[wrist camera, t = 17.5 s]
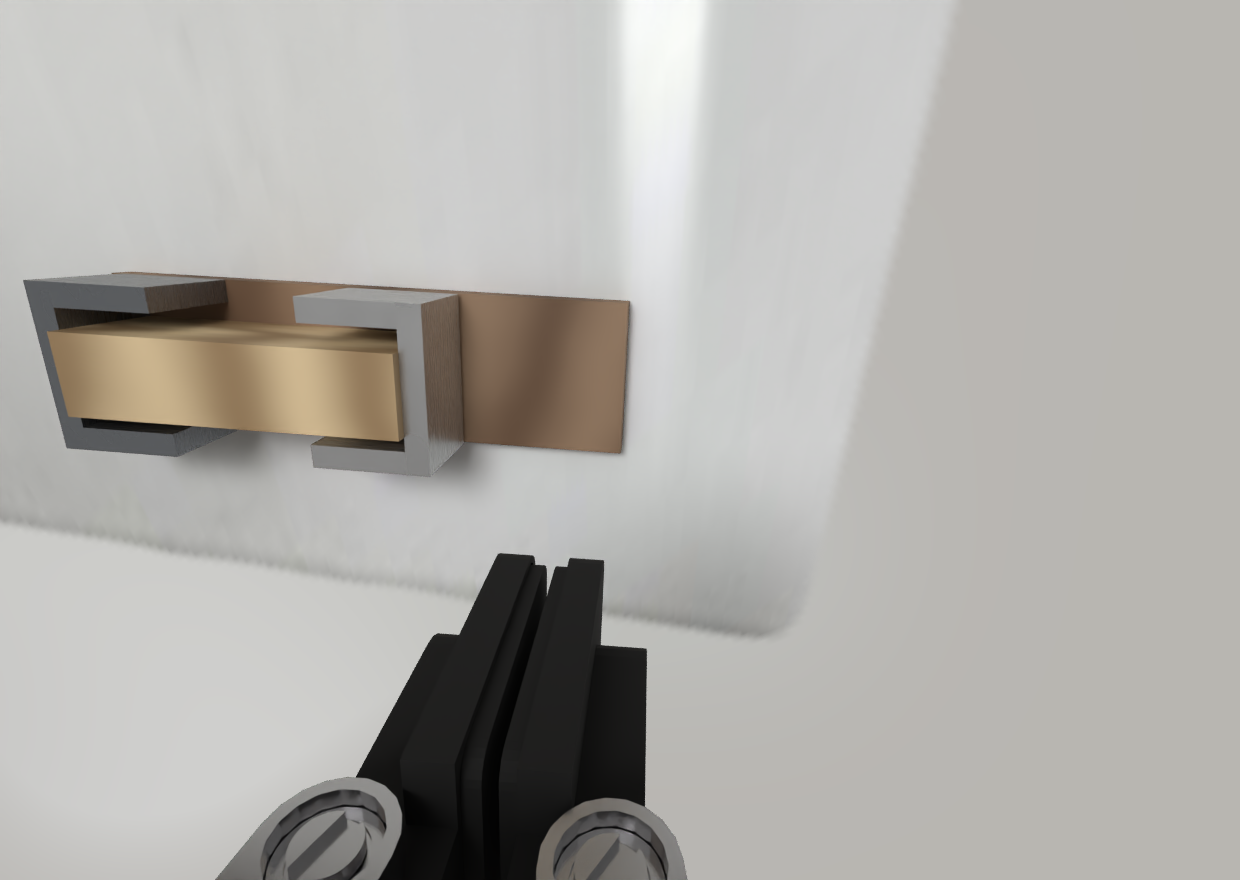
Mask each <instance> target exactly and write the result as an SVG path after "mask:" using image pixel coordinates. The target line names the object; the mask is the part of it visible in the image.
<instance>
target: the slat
mask: <svg viewBox="0 0 1240 880" xmlns="http://www.w3.org/2000/svg"><path fill="white" fill-rule="evenodd" d="M47 334H48V338H49V342H50V346H51V350H52V354H53V358H54V362H55V366H56V370H57V374H58V378H59V381H60V385H61V389H62V393H63V397H64V401H65V405H66V409H67V413H68V417H78V418H92V419H105V420H118V421H132V422H145V423H158V424H172V425H185V426H198V427H212V428H225V429H238V430H251V431H265V432H278V433H291V434H305V435H318V436H331V437H345V438H358V439H371V440H384V441H398V442H399V441H400V440H402V439H403V438H404V429H403V414H402V400H401V386H400V371H399V357H398V343H397V331H382V330H366V329H350V328H334V327H319V326H303V325H287V324H271V323H255V322H240V321H224V320H208V319H192V318H176V317H161V316H146V317H140V318H133V319H126V320H120V321H113V322H107V323H100V324H93V325H87V326H80V327H73V328H67V329H60V330H53V331H47Z"/></svg>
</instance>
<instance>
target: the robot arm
mask: <svg viewBox="0 0 1240 880" xmlns="http://www.w3.org/2000/svg"><path fill="white" fill-rule="evenodd" d="M603 580H604V560H590V559H576V558H570V559H569V563H568V567H559V566H556V567H555V570H554V573H553V577H552V580H551V584H550V587H549V591H548V594H547V569H546V566H544V565H535V558H534V556H532V555H517V554H503V553H500V554H498V555H497V557H496V559H495V561H494V563H493V565H492V567H491V569H490V571H489V574H488V576H487V578H486V580H485V582H484V584H483V586H482V588H481V590H480V592H479V595H478V597H477V599H476V601H475V603H474V605H473V607H472V609H471V611H470V613H469V616H468V618H467V620H466V622H465V624H464V626H463V628H462V630H461V633H460V634H459V635H452V634H439V633H438V634H436V635H434V636H433V637H432V639H431V640H430V642H429V643H428V645H427V647H426V648H425V650H424V652H423V654H422V656H421V658H420V660H419V661H418V663H417V665H416V667H415V669H414V671H413V672H412V674H411V676H410V678H409V680H408V682H407V683H406V685H405V687H404V689H403V691H402V693H401V695H400V696H399V698H398V700H397V702H396V704H395V706H394V707H393V709H392V711H391V713H390V715H389V717H388V719H387V720H386V722H385V724H384V726H383V728H382V730H381V731H380V733H379V735H378V737H377V739H376V741H375V743H374V744H373V746H372V748H371V750H370V752H369V754H368V755H367V758H366V759H365V761H364V763H363V765H362V767H361V768H360V770H359V772H358V774H357V776H356V778H354V777H346V778H341V779H334V780H329V781H325V782H322V783H320V784H317V785H315V786H312V787H310V788H307V789H305V790H303V791H301V792H300V793H298V794H297V795H295V796H294V797H292V798H291V799H289V800H287V801H286V802H284V803H283V804H281V805H280V806H279V807H278V808H277V809H276V810H275V811H274V812H273V813H272V814H271V815H270V816H269V817H268V818H267V819H266V820H265V821H264V822H263V823H262V824H261V825H260V826H259V827H258V829H257V830H256V831H255V832H254V833H253V835H252V836H251V837H250V838H249V840H248V841H247V842H246V843H245V845H244V846H243V847H242V848H241V849H240V850H239V852H238V853H237V854H236V855H235V856H234V858H233V859H232V860H231V861H230V863H229V864H228V865H227V866H226V867H225V869H224V870H223V871H222V872H221V873H220V875H219V876H218V877H217V878H216V879H215V880H687V875H686V871H685V865H684V860H683V857H682V854H681V851H680V848H679V846H678V843H677V840H676V837H675V836H674V835H673V833H672V832H671V831H670V829H669V828H668V827H667V825H666V824H665V823H664V821H663V820H662V819H661V818H659V817H658V816H657V815H655V814H654V813H653V812H651V811H650V810H649V809H647V808H646V807H645V755H646V753H645V752H646V678H647V677H646V676H647V650H646V649H644V648H631V647H616V646H603V645H601V625H602V603H603Z"/></svg>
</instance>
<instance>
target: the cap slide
mask: <svg viewBox="0 0 1240 880" xmlns="http://www.w3.org/2000/svg"><path fill="white" fill-rule="evenodd" d="M293 304H294V312H295V320H296V323H306V324H322V325H338V326H354V327H370V328H385V329H397V343H398V357H399V371H400V386H401V400H402V414H403V429H404V438H403V439H402V440H400V441H399V442H398V441H384V440H371V439H358V438H345V437H331V436H326V437H324V438H322V439H320V440H319V441H317V442H315V443H313V444H312V445H311V451H312V459H313V467H314V468H326V469H338V470H351V471H364V472H376V473H389V474H402V475H415V476H427V477H431V476H432V475H433V474H434V473H435V472H436V471H437V470H438V469H439V468H440V467H441V466H442V465H443V464H444V463H445V462H446V461H447V460H448V459H449V458H450V457H451V456H452V455H453V454H454V453H455V452H456V451H457V450H458V449H459V448H460V447H461V446H462V445H463V444H464V440H463V413H462V385H461V358H460V330H459V303H458V294H448V293H431V292H414V291H397V290H380V289H363V288H343V289H337V290H330V291H324V292H317V293H311V294H305V295H298V296H293Z"/></svg>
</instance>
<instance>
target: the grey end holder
mask: <svg viewBox="0 0 1240 880" xmlns="http://www.w3.org/2000/svg"><path fill="white" fill-rule="evenodd" d="M23 281H24V285H25V289H26V293H27V297H28V301H29V304H30V308H31V312H32V316H33V320H34V324H35V328H36V331H37V335H38V339H39V343H40V347H41V351H42V354H43V358H44V362H45V366H46V370H47V374H48V377H49V381H50V385H51V389H52V393H53V397H54V401H55V404H56V408H57V412H58V416H59V420H60V424H61V427H62V431H63V435H64V439H65V443H66V447H67V448H71V449H84V450H97V451H110V452H122V453H135V454H148V455H160V456H173V457H178V456H180V455H183V454H185V453H187V452H189V451H192V450H194V449H196V448H198V447H201V446H203V445H205V444H207V443H210V442H212V441H214V440H216V439H219V438H221V437H223V436H226V435H228V434H230V433H232V432H235V431H237V430H238V429H225V428H212V427H198V426H185V425H172V424H158V423H145V422H132V421H118V420H105V419H92V418H78V417H68V413H67V409H66V405H65V401H64V397H63V393H62V389H61V385H60V381H59V378H58V374H57V370H56V366H55V362H54V358H53V354H52V350H51V346H50V342H49V338H48V334H47V331H53V330H60V329H67V328H73V327H80V326H87V325H93V324H100V323H107V322H113V321H120V320H126V319H133V318H140V317H146V316H150V313H156V312H163V311H170V310H177V309H184V308H191V307H197V306H204V305H211V304H218V303H225V302H228V295H227V289H226V283H225V280H222V279H205V278H188V277H171V276H154V275H137V274H108V275H93V276H78V277H63V278H48V279H33V280H23Z"/></svg>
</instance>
